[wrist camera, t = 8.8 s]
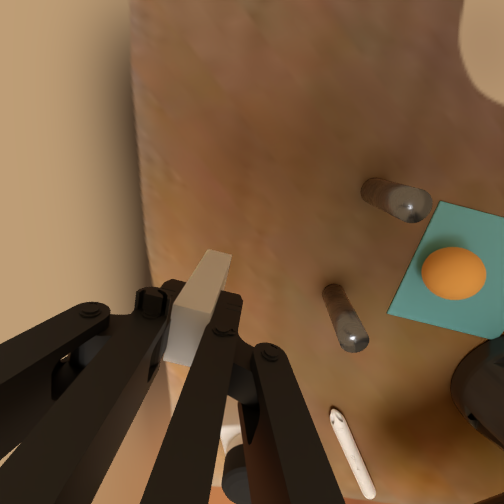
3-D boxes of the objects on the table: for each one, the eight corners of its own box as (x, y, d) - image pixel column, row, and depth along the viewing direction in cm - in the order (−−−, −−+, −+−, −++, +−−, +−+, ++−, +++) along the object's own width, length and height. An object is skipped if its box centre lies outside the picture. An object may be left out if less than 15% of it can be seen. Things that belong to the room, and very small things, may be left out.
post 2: (390, 181, 30) (438, 193, 21) (380, 205, 30) (423, 226, 22) (366, 175, 30) (405, 184, 21) (357, 199, 30) (390, 218, 22)
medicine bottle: (234, 419, 42) (222, 518, 31) (225, 381, 40) (208, 472, 28) (283, 416, 41) (288, 516, 30) (277, 376, 39) (280, 469, 28)
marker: (323, 404, 40) (327, 419, 38) (338, 400, 40) (342, 415, 38) (360, 485, 46) (365, 502, 43) (373, 483, 45) (378, 500, 43)
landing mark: (564, 233, 30) (566, 234, 30) (495, 339, 35) (496, 340, 35) (439, 200, 30) (440, 201, 30) (386, 312, 35) (387, 313, 34)
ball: (426, 240, 29) (441, 238, 32) (405, 288, 30) (422, 281, 34) (492, 262, 25) (501, 257, 29) (464, 315, 27) (475, 304, 31)
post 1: (347, 287, 34) (373, 332, 25) (339, 305, 35) (362, 355, 26) (326, 281, 34) (345, 325, 25) (319, 300, 35) (335, 348, 26)
